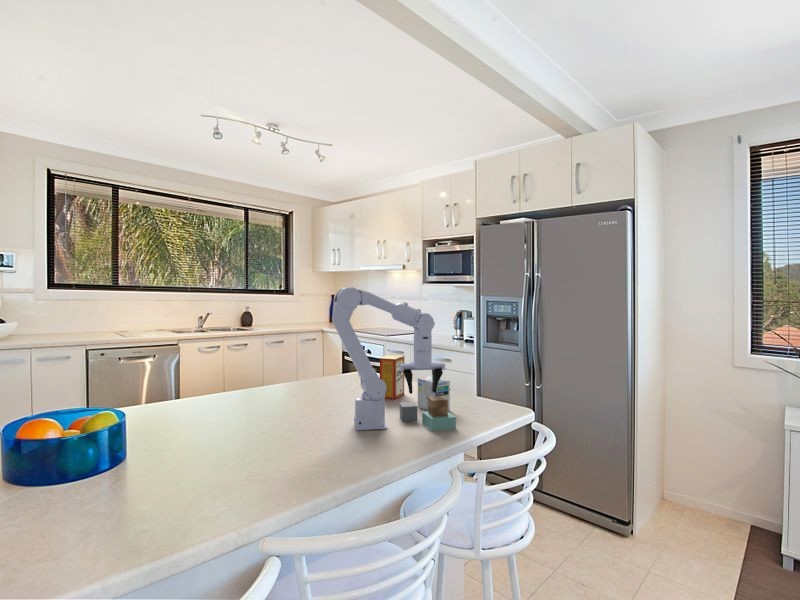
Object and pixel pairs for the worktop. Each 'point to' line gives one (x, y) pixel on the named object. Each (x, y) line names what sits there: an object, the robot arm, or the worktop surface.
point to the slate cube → (408, 412)
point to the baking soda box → (392, 375)
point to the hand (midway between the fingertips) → (422, 392)
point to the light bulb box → (426, 391)
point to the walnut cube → (437, 406)
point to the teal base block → (439, 421)
